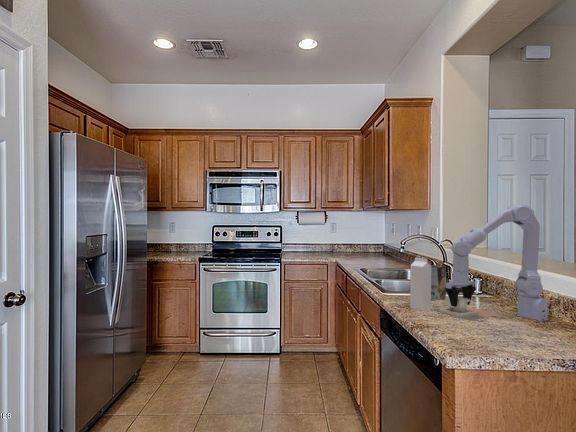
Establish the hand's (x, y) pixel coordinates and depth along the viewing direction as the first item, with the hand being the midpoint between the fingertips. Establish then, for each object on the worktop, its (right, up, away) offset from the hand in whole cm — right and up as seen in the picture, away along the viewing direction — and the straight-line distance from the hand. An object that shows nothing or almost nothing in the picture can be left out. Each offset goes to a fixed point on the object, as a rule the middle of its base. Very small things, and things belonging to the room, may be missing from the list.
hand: (460, 305), depth 155 cm
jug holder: (+3, -4, +1) cm, 5 cm away
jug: (-1, -3, +1) cm, 3 cm away
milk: (-13, -4, +8) cm, 16 cm away
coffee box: (+2, -4, +29) cm, 29 cm away
